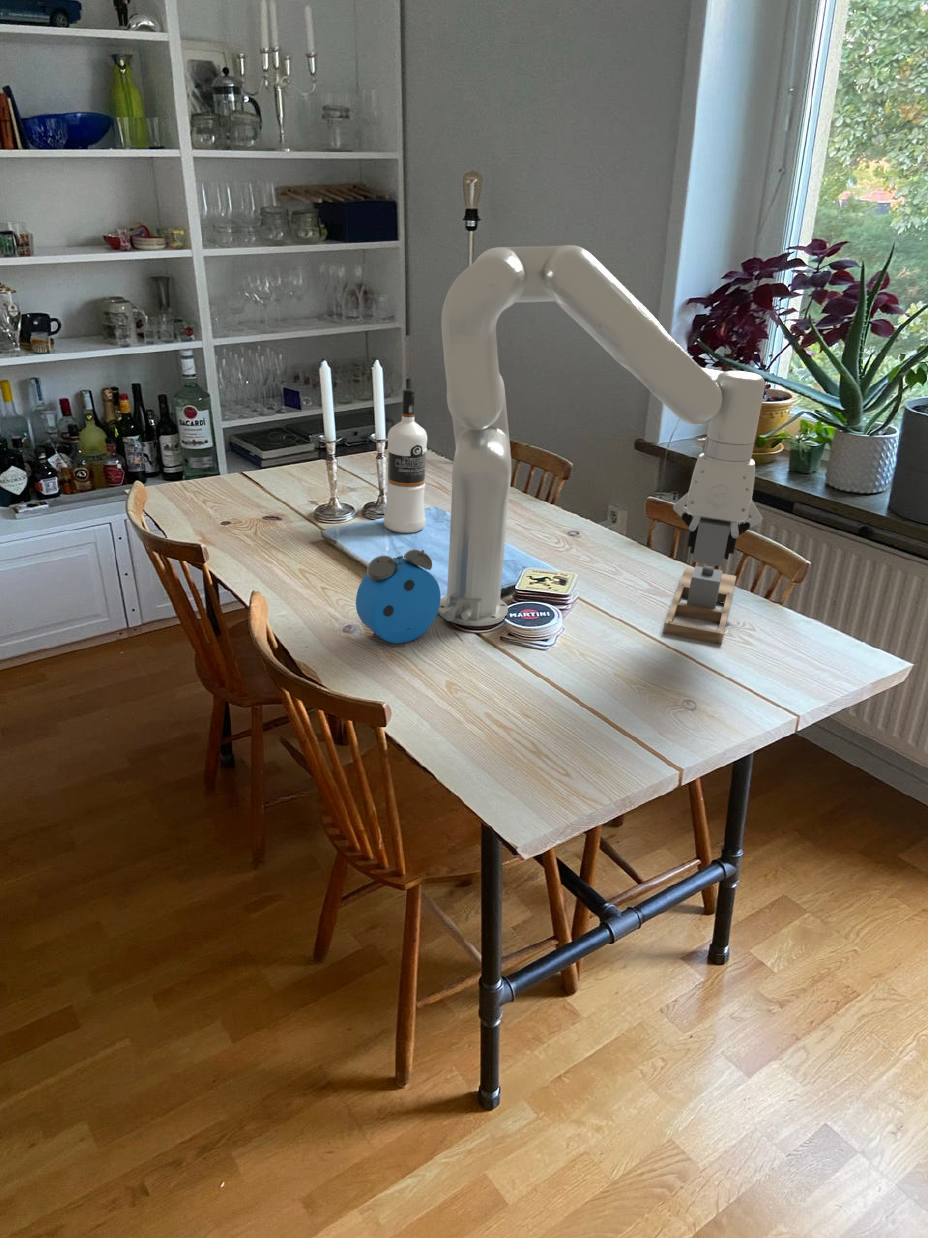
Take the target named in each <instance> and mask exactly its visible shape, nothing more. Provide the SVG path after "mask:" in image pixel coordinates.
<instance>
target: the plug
mask: <svg viewBox="0 0 928 1238" xmlns="http://www.w3.org/2000/svg"><path fill="white" fill-rule="evenodd" d="M730 525H731V524H730V522H727V521H720V520H714V519H707V518H701V520H700V521H699V526H698V531H697V537H696V543H695V549H694V554H693V555H692V560H691V561H692V562H693V563H699V564H705V565H709V566H710V565H712V566H718V567H723V565H724V563H725V558H724V556H725V551H726V546H727V540H728V536H729V533H730V531H731V527H730Z"/></svg>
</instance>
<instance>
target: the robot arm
mask: <svg viewBox="0 0 928 1238" xmlns="http://www.w3.org/2000/svg"><path fill="white" fill-rule="evenodd" d="M447 291H448V292H447V293H446V296H445V299H444V302H443V306H442V310H441V320H440V321H441V325H440V326H441V337H442V339H441V340H442V347H443V363H444V369H445V370H444V371H445V372H444V373H445V380H446V402H447V407H448V411H449V413H450V415H451V417H452V426H453V427H452V428H453V435H454V444H455V451H454V452H455V453H454V458H453V464H452V474H451V503H450V505H451V507H450V508H451V509H450V522H449V523H450V524H449V529H450V531H449V533H450V534H449V547H448V548H449V550H448V551H449V552H448V565H447V566H448V568H447V584H446V585H447V586H446V587H447V589H446V595H445V596H443V597H441V600H440V607H439V610H438V613H437V614H439V615H440V617H442V618H443V619H445V621H448V622H451V623H454V624H457V625H460V626H465V627H466V626H467V627H487V626H493V625H495V624H499V623H501V622H502V621H504V620H503V618H504V617H505V616H506V615H507V616H508V614H507V613H509V607H508V604H507V603H506V602H505V601H504V600H503V599H501V592H502V581H503V579H502V578H503V571H504V570H503V568H504V557H505V556H504V555H505V554H504V553H505V543H506V532H507V531H506V529H507V520H508V519H507V518H508V517H507V516H508V509H509V508H508V507H509V505H508V504H509V497H510V490H511V488H510V487H511V482H512V454H511V451H512V450H511V443H510V442H511V441H510V434H509V432H510V431H509V421H508V412H507V411H508V410H507V399H506V389H505V383H504V379H503V377H502V375H501V374H500V367H499V357H498V341H497V339H498V338H497V323H498V320H499V317H500V315H501V314H502V313H503V311H505V310H506V309H508V308H510V307H512V306H513V305H514V304H515V303H539V302H540V303H543V302H554V303H556V304H557V305H558V306H559V307H560V308H561V309H562V310H563V311H565V313H567V315H568V316H570V317H571V318H572V319H573V320H574V321H575V322H576V323H577V324H578V325H579V326H580V327H581V328H582V329H583V330H584V331H585V332H586V333H587V334H589V335H590V336H591V337H592V338H593V340H594V341H595V342H597V343H598V344H599V345H600V346H601V347H602V348H603V349H604V350H605V351H606V352H607V353H608V354H609V355H610V356H611V357H612V358H613V359H614V360H615V361H616V362H617V363H618V364H619V365H620V366H622V367H623V368H624V369H626V370H627V371H629V372H630V373H631V374H632V375H633V376H634V377H636V379H638V381H639V382H641V383H642V385H644V386H645V387H646V388H647V390H649V391H650V392H651V393H652V394H653V395H654V396H655V397H656V398H657V399H658V400H659V401H660V402H661V403H662V404H663V405H664V406H665V407H667V409H669V410H670V412H672V414H674V416H676V418H678V419H679V420H680V421H681V422H683V423H685V424H687V425H691V426H700V425H705V424H707V423H708V428H707V434H706V437H704V438H697V440H696V445H695V447H696V448H700V449H701V450H702V451H703V452H702V453H700V454H699V455H698V458H697V460H696V461H695V465H694V468H693V472H692V476H691V481H690V486H689V489H688V492H687V493H686V494H684V495H683V496H682V497H681V498H680V499H678V501H676V502H675V503H674V504H673V506H672V509H673V511H674V512H675V513H676V514H677V515H678V516H679V517H680V518H681V520H682V521H683V522H684V523H685V525H686V527H688V530H689V537H688V542H687V548H690V552H689V553H690V554H693V555H694V549H695V543H696V537H697V531H698V526H699V521H700V520H701V518H707V519H714V520H720V521H727V522H730V524H731V525H730V527H731V528H730V533H729V536H728V540H727V546H726V551H725V556H724V560H729V556H730V554H731V555H733V554H734V552H735V548H736V542H737V538H739V536H740V535H742V534H743V533H745V532H747V531H748V530H750V529H751V528H753V527H755V526H757V525H760V524H761V523H762V522H763V516H762V514H761V513H760V511H759V509H758V508H757V506H756V504H755V503H754V500H753V494H754V486H755V478H756V477H755V476H756V463H755V460H754V459H753V458H752V457H753V451H754V447H755V446H754V445H755V441H756V436H757V430H758V425H759V421H760V414H761V410H762V404H763V399H764V395H765V388H766V381H765V379H764V377H763V376H762V375H760V374H758V373H755V372H749V371H745V370H744V371H741V370H727V371H723V370H721V371H720V370H717V369H716V370H715V369H709V368H705V367H702V366H700V365H699V364H698V363H697V362H696V361H695V360H694V358H692V357H691V356H690V355H689V354H688V353H687V352H686V351H685V350H684V349H683V348H682V346H680V345H679V344H678V343H677V342H676V341H675V340H674V339H673V338H672V337H671V336H670V334H668V332H667V331H666V330H665V328H664V327H663V326H662V325H661V323H660V322H659V321H658V319H657V318H656V317H655V316H654V315H653V314H652V313H651V312H650V310H648V308H647V307H645V305H643V303H641V302H640V301H639V299H637V298H636V297H635V296H634V295H633V294H632V293H631V292H630V291H629V290H628V289H627V288H626V287H625V286H624V285H623V284H622V283H621V282H620V281H619V280H618V279H617V277H615V276H614V275H613V274H612V273H611V272H610V271H609V270H608V269H607V268H606V267H605V266H604V265H603V264H602V263H601V262H600V261H599V260H598V259H597V258H596V257H595V256H594V255H592V253H591V252H589V251H588V250H587V249H585V248H583V247H581V246H578V245H575V244H574V245H573V244H566V245H549V246H545V245H544V246H503V247H502V246H498V247H492V248H489V249H486V250H485V251H484V252H482V253H481V254H480V255H479V256H478V257H477V258H476V259H475V261H473V262H472V263H471V264H470V265H469V266H468V267H467V268H466V269H464V270H463V271H462V272H461V273H460V274H459V275H458V276H457V277H456V278H455V280H454V281H453V282H452V284H451V286H450V288H449V289H448V290H447ZM749 515H750V518H749ZM748 518H749V519H748Z"/></svg>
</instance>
